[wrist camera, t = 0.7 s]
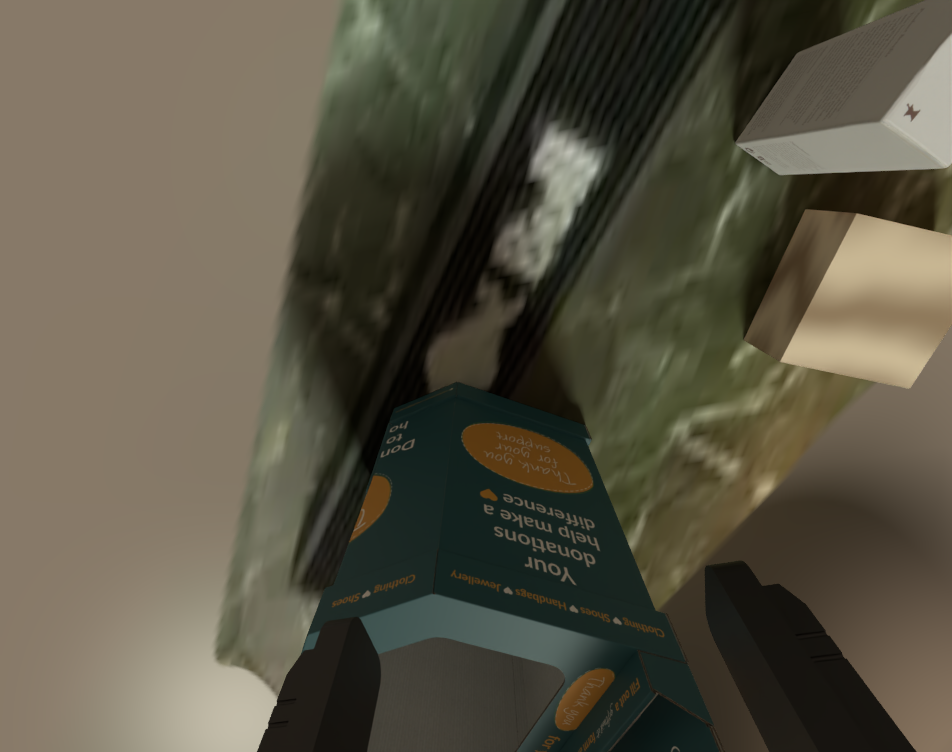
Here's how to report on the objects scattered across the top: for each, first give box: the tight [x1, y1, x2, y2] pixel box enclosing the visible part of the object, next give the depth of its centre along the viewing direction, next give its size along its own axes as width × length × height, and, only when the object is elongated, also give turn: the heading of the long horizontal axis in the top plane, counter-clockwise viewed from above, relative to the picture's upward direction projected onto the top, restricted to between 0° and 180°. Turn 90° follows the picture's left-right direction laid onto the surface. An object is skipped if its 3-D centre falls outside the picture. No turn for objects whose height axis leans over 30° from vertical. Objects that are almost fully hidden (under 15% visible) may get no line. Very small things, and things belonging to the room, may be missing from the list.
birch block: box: [744, 209, 952, 389], centre depth 32 cm, size 10×10×5 cm
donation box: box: [301, 382, 725, 752], centre depth 28 cm, size 16×16×28 cm
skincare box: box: [735, 0, 952, 175], centre depth 24 cm, size 6×4×12 cm
